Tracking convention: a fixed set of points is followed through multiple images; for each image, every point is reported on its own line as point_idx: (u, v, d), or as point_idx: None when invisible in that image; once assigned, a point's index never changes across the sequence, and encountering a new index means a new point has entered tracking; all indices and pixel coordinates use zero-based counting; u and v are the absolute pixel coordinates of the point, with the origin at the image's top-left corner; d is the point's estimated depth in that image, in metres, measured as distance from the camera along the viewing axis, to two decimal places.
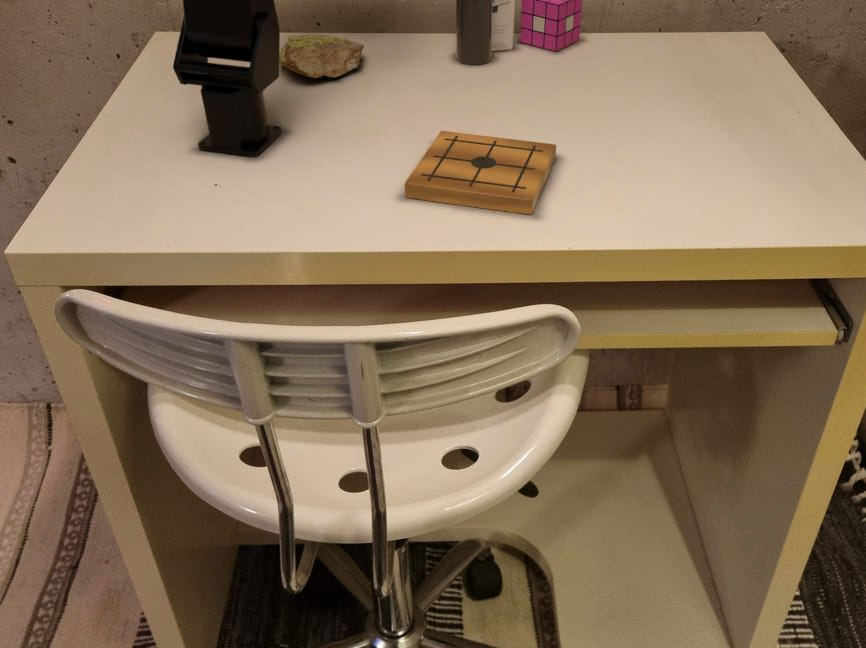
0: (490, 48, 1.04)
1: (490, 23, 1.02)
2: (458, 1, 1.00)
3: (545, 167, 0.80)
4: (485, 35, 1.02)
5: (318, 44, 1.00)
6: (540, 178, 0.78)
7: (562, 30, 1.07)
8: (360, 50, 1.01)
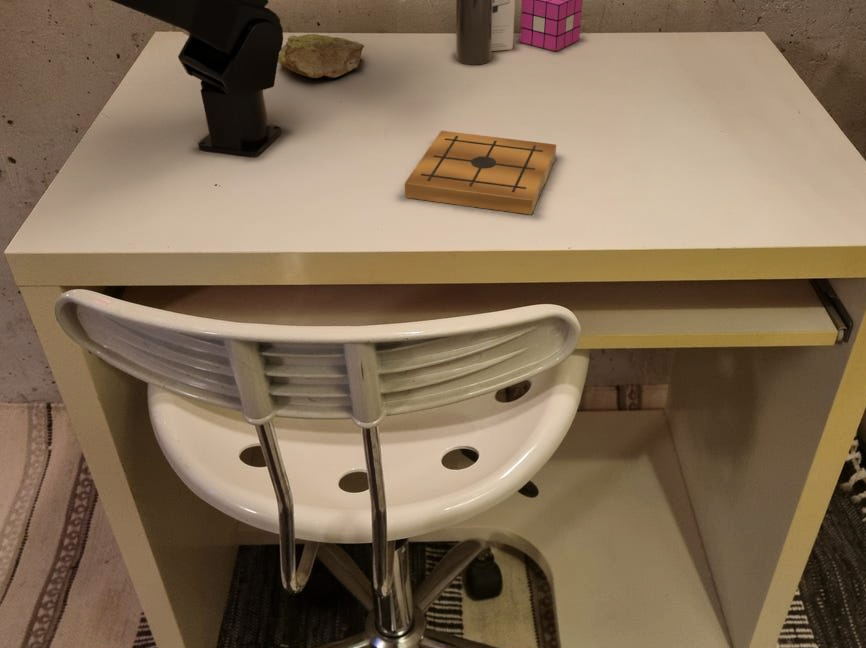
0: (490, 48, 1.04)
1: (490, 23, 1.02)
2: (458, 1, 1.00)
3: (545, 167, 0.80)
4: (485, 35, 1.02)
5: (318, 44, 1.00)
6: (540, 178, 0.78)
7: (562, 30, 1.07)
8: (360, 50, 1.01)
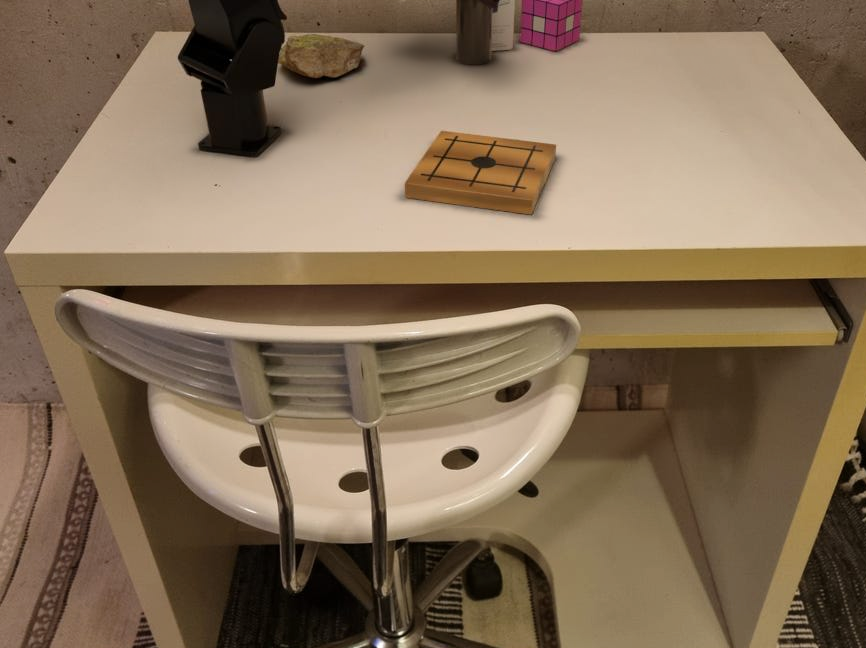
0: (490, 48, 1.04)
1: (490, 23, 1.02)
2: (458, 1, 1.00)
3: (545, 167, 0.80)
4: (485, 35, 1.02)
5: (318, 44, 1.00)
6: (540, 178, 0.78)
7: (562, 30, 1.07)
8: (360, 50, 1.01)
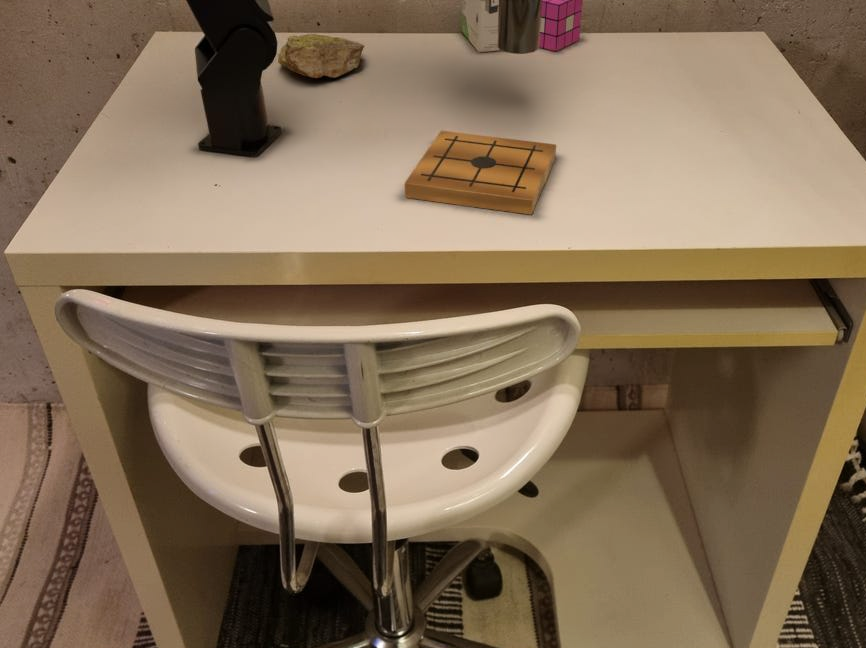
0: (533, 37, 0.87)
1: (533, 6, 0.84)
2: None
3: (545, 167, 0.80)
4: (523, 19, 0.85)
5: (318, 44, 1.00)
6: (540, 178, 0.78)
7: (562, 30, 1.07)
8: (360, 50, 1.01)
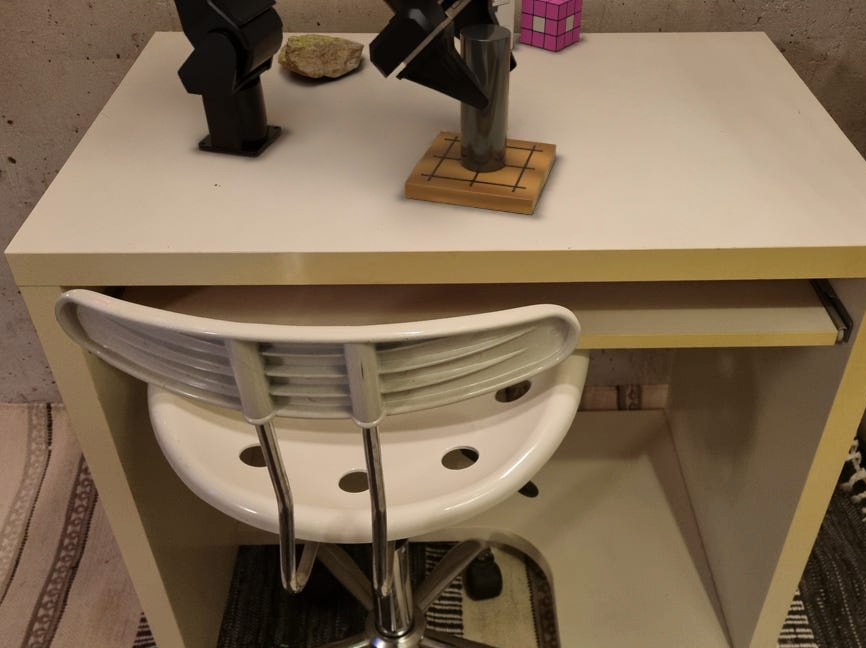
0: (486, 156, 0.78)
1: (485, 125, 0.76)
2: None
3: (545, 167, 0.80)
4: (474, 136, 0.77)
5: (318, 44, 1.00)
6: (540, 178, 0.78)
7: (562, 30, 1.07)
8: (360, 50, 1.01)
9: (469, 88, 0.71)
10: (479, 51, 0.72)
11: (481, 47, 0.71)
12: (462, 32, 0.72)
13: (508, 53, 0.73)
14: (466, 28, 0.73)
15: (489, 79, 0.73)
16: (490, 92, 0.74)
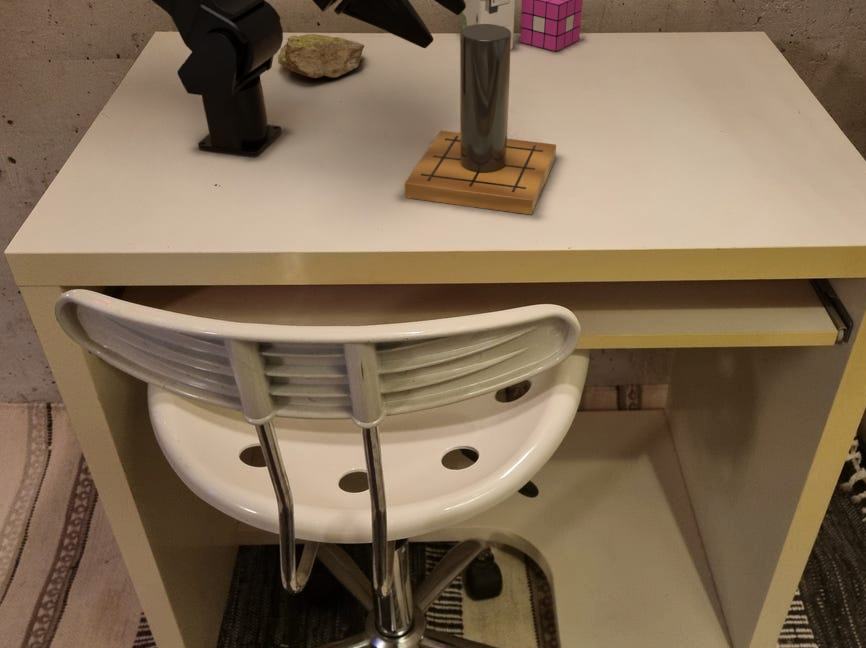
0: (486, 156, 0.78)
1: (485, 125, 0.76)
2: None
3: (545, 167, 0.80)
4: (474, 136, 0.77)
5: (318, 44, 1.00)
6: (540, 178, 0.78)
7: (562, 30, 1.07)
8: (360, 50, 1.01)
9: (411, 24, 0.69)
10: (479, 51, 0.72)
11: (481, 47, 0.71)
12: (462, 32, 0.72)
13: (508, 53, 0.73)
14: (466, 28, 0.73)
15: (489, 79, 0.73)
16: (490, 92, 0.74)
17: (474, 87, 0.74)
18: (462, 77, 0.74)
